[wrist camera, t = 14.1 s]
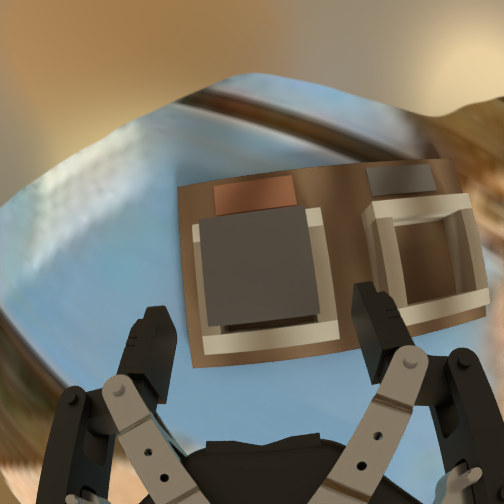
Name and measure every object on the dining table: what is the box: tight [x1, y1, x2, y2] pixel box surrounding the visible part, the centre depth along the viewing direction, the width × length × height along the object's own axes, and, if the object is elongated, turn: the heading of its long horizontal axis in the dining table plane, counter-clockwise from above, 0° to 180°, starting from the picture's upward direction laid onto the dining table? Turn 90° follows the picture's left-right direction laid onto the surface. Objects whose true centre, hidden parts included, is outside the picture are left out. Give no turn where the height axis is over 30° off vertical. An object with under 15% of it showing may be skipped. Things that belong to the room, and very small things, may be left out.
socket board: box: [178, 159, 490, 368], centre depth 21 cm, size 24×14×4 cm, turn 97°
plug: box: [198, 205, 320, 327], centre depth 17 cm, size 4×4×10 cm
